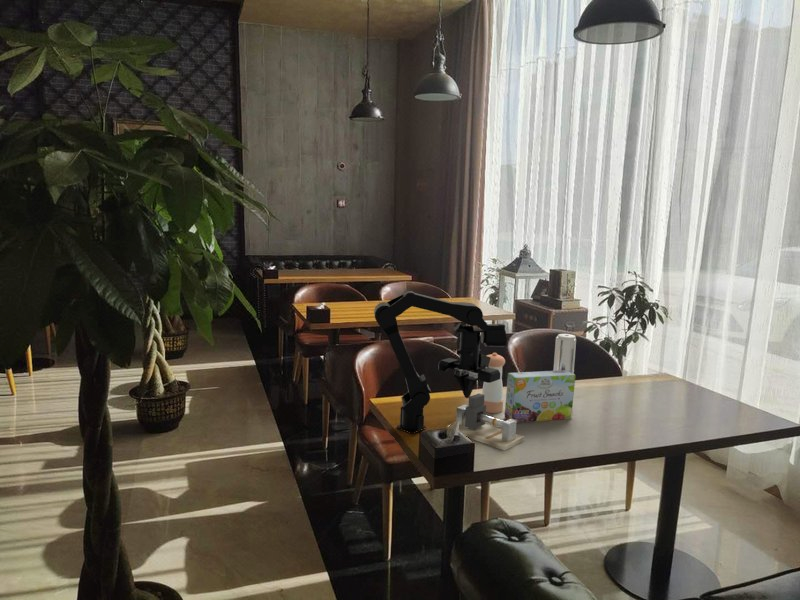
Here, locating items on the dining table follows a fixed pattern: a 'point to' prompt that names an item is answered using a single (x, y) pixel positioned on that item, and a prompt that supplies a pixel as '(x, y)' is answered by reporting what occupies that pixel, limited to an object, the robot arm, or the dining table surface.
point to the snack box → (539, 396)
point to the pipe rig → (506, 426)
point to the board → (490, 436)
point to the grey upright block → (475, 411)
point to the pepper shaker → (494, 386)
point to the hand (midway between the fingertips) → (467, 397)
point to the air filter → (565, 352)
